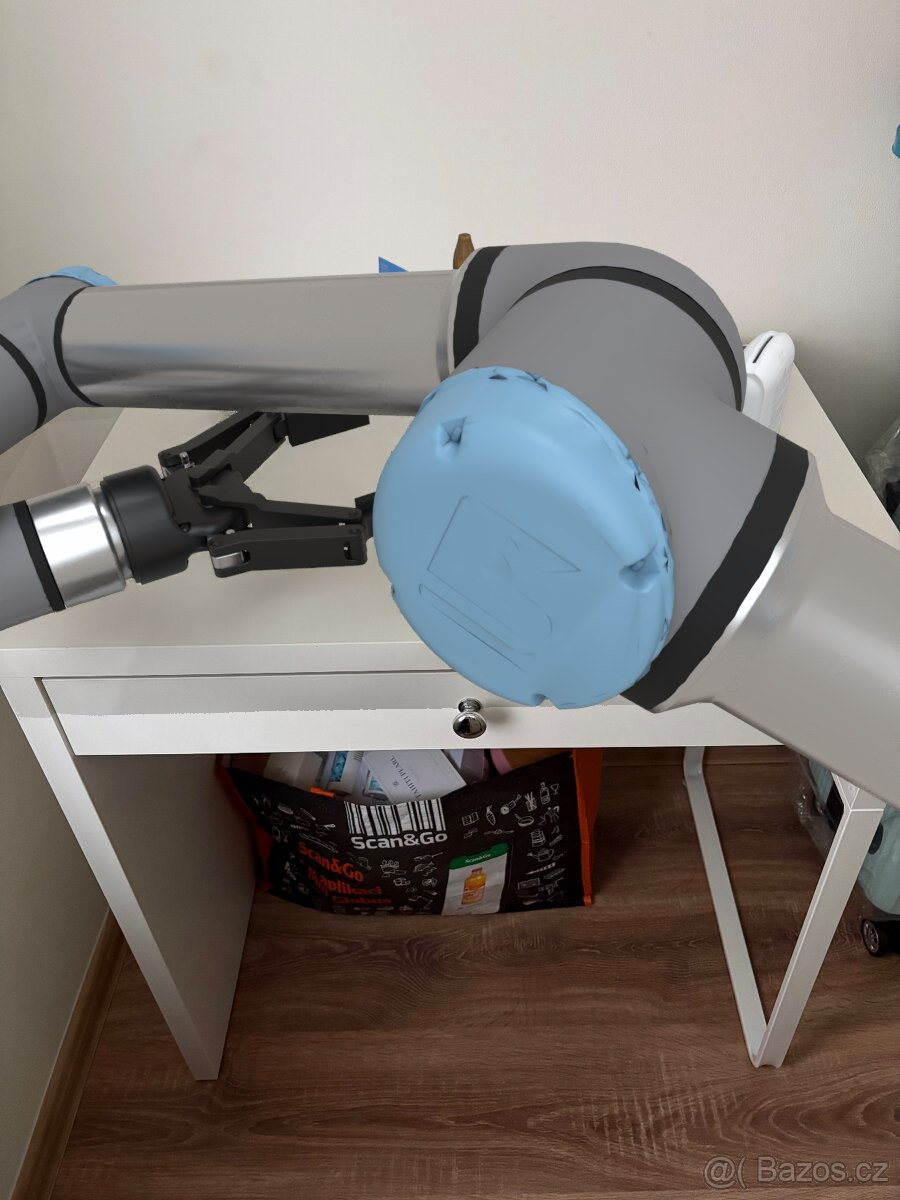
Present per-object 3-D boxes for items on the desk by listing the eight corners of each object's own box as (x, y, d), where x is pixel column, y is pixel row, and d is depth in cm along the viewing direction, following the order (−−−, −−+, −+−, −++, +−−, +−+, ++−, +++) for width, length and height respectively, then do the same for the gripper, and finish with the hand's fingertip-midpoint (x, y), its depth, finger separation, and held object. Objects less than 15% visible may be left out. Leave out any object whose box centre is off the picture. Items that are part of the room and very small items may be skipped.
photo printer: (739, 431, 98) (759, 315, 90) (782, 441, 96) (805, 323, 88) (705, 481, 91) (723, 360, 83) (750, 493, 89) (772, 370, 81)
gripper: (91, 492, 75) (344, 418, 82) (176, 691, 58) (487, 576, 64) (62, 405, 70) (332, 335, 77) (145, 594, 53) (484, 481, 60)
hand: (404, 445), depth 71 cm, fingers open, 13 cm apart
